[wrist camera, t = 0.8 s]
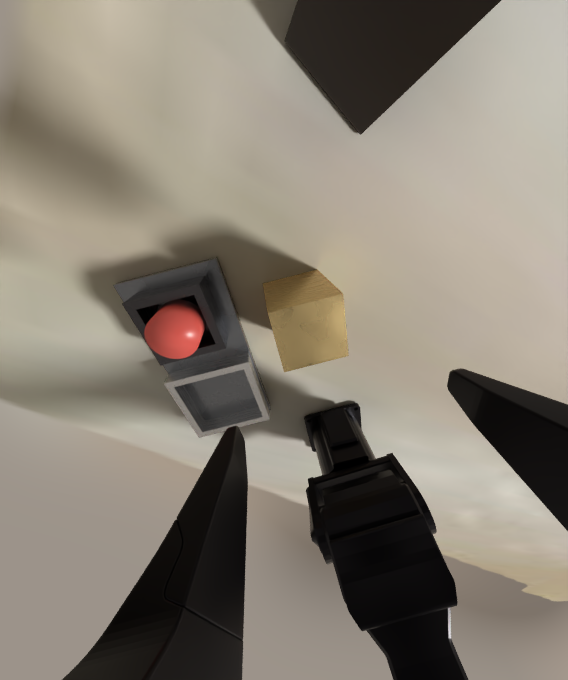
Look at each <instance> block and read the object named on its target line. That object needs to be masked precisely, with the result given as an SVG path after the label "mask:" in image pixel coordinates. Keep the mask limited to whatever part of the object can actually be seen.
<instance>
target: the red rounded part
mask: <svg viewBox="0 0 568 680" xmlns="http://www.w3.org/2000/svg"><path fill="white" fill-rule="evenodd" d="M205 327H206V321H205V319H204V316H203V314H202V312H201V310H200V308H199V307H198V306H196V305H195V304H193V303H192V302H189V301H186V300H181V299H176V300H172V301H168V302H167V303H165V304H164V305H163V306H162V307H161V308H160V309H159V310H158V311H157V313H156V314H155V315H154V316H153V317H152V318H151V319H150V320H149V322H148V323H147V325H146V327H145V331H144V335H145V339H146V342H147V344H148V345H149V346H150V348H151V349H152V350H153V351H155V352H156V353H158V354H159V355H161V356H164V357H167V358H171V359H181V358H186V357H188V356H190V355H192V354H193V353H194V352H195V351H196V350H197V348H198V346H199V344H200V341H201V338H202V335H203V333H204V330H205Z"/></svg>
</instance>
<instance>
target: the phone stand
mask: <svg viewBox="0 0 568 680" xmlns="http://www.w3.org/2000/svg"><path fill="white" fill-rule="evenodd" d="M500 1H501V0H298V2H297V5H296V8H295V11H294V14H293V17H292V20H291V23H290V26H289V29H288V32H287V35H286V38H285V42H286V44H287V45H288V46H289V47H290V49H291V50H292V51H293V52H294V54H295V55H296V56H297V57H298V58H299V60H300V61H301V62H302V63H303V65H304V66H305V67H306V68H307V70H308V71H309V72H310V73H311V74H312V76H313V77H314V78H315V79H316V81H317V82H318V83H319V84H320V86H321V87H322V88H323V89H324V90H325V92H326V93H327V94H328V95H329V97H330V98H331V99H332V100H333V102H334V103H335V104H336V105H337V106H338V108H339V109H340V110H341V111H342V113H343V114H344V115H345V116H346V118H347V119H348V120H349V121H350V122H351V124H352V125H353V126H354V127H355V129H356V130H357V131H358V132H359V134H360V135H361V134H362V133H363V132H364V131H365V130H366V129H367V128H368V127H369V126H370V125H371V124H372V123H373V122H374V121H375V120H377V119H378V118H379V117H380V116H381V115H382V114H383V113H384V112H385V111H386V110H387V109H388V108H389V107H390V106H391V105H392V104H393V103H394V102H395V101H396V100H397V99H399V98H400V97H401V96H402V95H403V94H404V93H405V92H406V91H407V90H408V89H409V88H410V87H411V86H412V85H413V84H414V83H415V82H416V81H417V80H418V79H419V78H420V77H422V76H423V75H424V74H425V73H426V72H427V71H428V70H429V69H430V68H431V67H432V66H433V65H434V64H435V63H436V62H437V61H438V60H439V59H440V58H441V57H442V56H444V55H445V54H446V53H447V52H448V51H449V50H450V49H451V48H452V47H453V46H454V45H455V44H456V43H457V42H458V41H459V40H460V39H461V38H462V37H463V36H464V35H465V34H467V33H468V32H469V31H470V30H471V29H472V28H473V27H474V26H475V25H476V24H477V23H478V22H479V21H480V20H481V19H482V18H483V17H484V16H485V15H486V14H487V13H488V12H490V11H491V10H492V9H493V8H494V7H495V6H496V5H497V4H498V3H499V2H500Z"/></svg>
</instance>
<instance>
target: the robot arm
mask: <svg viewBox="0 0 568 680" xmlns="http://www.w3.org/2000/svg"><path fill="white" fill-rule="evenodd" d="M447 387H448V390H449V392H450V393H451V394H452V396H453V397H454V399H455V400H456V401H457V403H458V404H459V405H460V407H461V408H462V410H463V411H464V412H465V414H466V415H467V416H468V418H469V419H470V420H471V422H472V423H473V424H474V425H475V427H476V428H477V429H478V430H479V431H480V432H481V433H482V435H483V436H484V437H485V438H486V439H487V440H488V441H489V443H490V444H491V445H492V446H493V447H494V448H495V449H496V450H497V452H498V453H499V454H500V455H501V456H502V457H503V458H504V459H505V461H506V462H507V463H508V464H509V465H510V466H511V467H512V469H513V470H514V471H515V472H516V473H517V474H518V475H519V476H520V478H521V479H522V480H523V481H524V482H525V483H526V484H527V486H528V487H529V488H530V489H531V490H532V491H533V492H534V493H535V495H536V496H537V497H538V498H539V499H540V500H541V501H542V503H543V504H544V505H545V506H546V507H547V508H548V509H549V510H550V512H551V513H552V514H553V515H554V516H555V517H556V518H557V519H558V521H559V522H560V523H561V524H562V525H563V526H564V527H565V529H566V530H567V531H568V405H567V404H564V403H562V402H559V401H556V400H553V399H550V398H547V397H544V396H541V395H538V394H535V393H532V392H529V391H527V390H524V389H521V388H518V387H515V386H512V385H509V384H506V383H503V382H500V381H497V380H495V379H492V378H489V377H486V376H483V375H480V374H477V373H474V372H471V371H468V370H465V369H456V370H452V371H451V372H450V374H449V379H448V384H447ZM304 420H305V424H306V428H307V432H308V436H309V439H310V443H311V447H312V451H314V452H316V453H317V456H318V460H319V464H320V467H321V471H322V476H319V477H315V478H313V477H312V478H308V483H309V487H308V488H307V489H306V493H307V498H308V503H309V510H310V531H311V538H312V541H313V542H314V543H315V544H316V545H317V546H319V548H320V551H321V553H322V554H323V557H324V559H325V562H326V563H327V564H330V563H333V564H334V567H335V571H336V574H337V578H338V581H339V585H340V589H341V592H342V595H343V599H344V601H345V603H346V604H347V608H348V610H349V612H350V614H351V616H352V617H353V619H354V620H355V622H356V623H357V625H358V626H359V628H360V629H361V630H362V631H365V630H366V631H367V632H368V633H369V634H370V636H371V637H372V638H373V640H374V641H375V642H376V644H377V645H378V646H379V647H380V649H381V650H382V651H383V653H384V654H385V656H386V657H387V660H388V664H389V667H390V670H391V673H392V676H393V679H394V680H468V678H467V676H466V673H465V671H464V669H463V666H462V664H461V662H460V659H459V657H458V655H457V652H456V650H455V647H454V645H453V643H452V640H451V614H450V607H454V606H457V596H456V587H455V582H454V579H453V577H452V575H451V573H450V571H449V570H448V568H447V565H446V563H445V561H444V559H443V556H442V554H441V552H440V550H439V547H438V545H437V543H436V541H435V539H434V536H433V534H435V533H436V526H435V523H434V520H433V517H432V515H431V513H430V510H429V508H428V506H427V504H426V502H425V500H424V499H423V497H422V495H421V493H420V492H419V490H418V489H417V487H416V486H415V484H414V483H413V482H412V480H411V479H410V477H409V476H408V474H407V473H406V472H405V470H404V469H403V467H402V466H401V465H400V463H399V462H398V460H397V459H396V458H395V456H394V455H393V453H390V454H387V456H384V457H381V458H377V459H376V458H375V456H374V454H373V452H372V450H371V448H370V446H369V444H368V442H367V440H366V438H365V436H364V434H363V432H362V430H361V415H360V407H359V405H358V404H357V403H354V404H350V405H346V406H342V407H338V408H335V409H331V410H327V411H323V412H319V413H315V414H311V415H307V416H306V417H305V418H304ZM247 491H248V479H247V465H246V452H245V441H244V437H243V435H242V433H241V431H240V429H239V427H238V426H232V427H229V428H227V429H226V431H225V433H224V435H223V436H222V438H221V440H220V442H219V444H218V445H217V447H216V449H215V451H214V452H213V454H212V456H211V458H210V459H209V461H208V463H207V465H206V467H205V468H204V470H203V472H202V474H201V475H200V477H199V479H198V481H197V482H196V484H195V486H194V488H193V490H192V491H191V493H190V495H189V497H188V498H187V500H186V502H185V504H184V506H183V507H182V509H181V511H180V513H179V514H178V516H177V520H175V521H174V523H173V525H172V527H171V528H170V530H169V532H168V534H167V535H166V537H165V539H164V540H163V542H162V544H161V545H160V547H159V549H158V551H157V552H156V554H155V555H154V557H153V559H152V560H151V562H150V563H149V565H148V566H147V568H146V569H145V571H144V573H143V574H142V576H141V577H140V579H139V580H138V582H137V583H136V585H135V586H134V588H133V589H132V591H131V593H130V594H129V595H128V597H127V598H126V600H125V601H124V603H123V604H122V606H121V608H120V609H119V611H118V612H117V614H116V615H115V617H114V618H113V620H112V621H111V623H110V624H109V626H108V627H107V629H106V630H105V632H104V633H103V635H102V636H101V637H100V638H99V640H98V641H97V642H96V644H95V645H94V646H93V648H92V649H91V650H90V651H89V652H88V654H87V655H86V656H85V657H84V658H83V659H82V660H81V661H80V663H79V664H78V665H77V666H76V667H75V668H74V669H73V670H72V671H71V672H70V673H69V674H68V675H66V676H65V677H64V678H63V680H242V659H243V623H244V590H245V556H246V524H247Z"/></svg>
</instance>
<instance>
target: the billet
mask: <svg viewBox="0 0 568 680" xmlns="http://www.w3.org/2000/svg"><path fill="white" fill-rule="evenodd" d="M263 288H264V294H265V300H266V306H267V312H268V316H269V319H270V323H271V327H272V330H273V334H274V337H275V341H276V344H277V348H278V351H279V355H280V359H281V362H282V366H283V369H284V372H287V371H291V370H295V369H299V368H303V367H307V366H311V365H314V364H318V363H322V362H326V361H330V360H334V359H338V358H342V357H346V356H349V355H348V343H347V332H346V321H345V309H344V298H343V293H342V292H341V291H340V290H339V289H337V288H336V287H335V286H334V285H333V284H332V283H331V282H330V281H329V280H328V279H327V278H326V277H325V276H324V275H323V274H322V273H320V272H319V271H318V270H313V271H310V272H306V273H302V274H298V275H294V276H290V277H286V278H282V279H278V280H275V281H271V282H267V283H263Z"/></svg>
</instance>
